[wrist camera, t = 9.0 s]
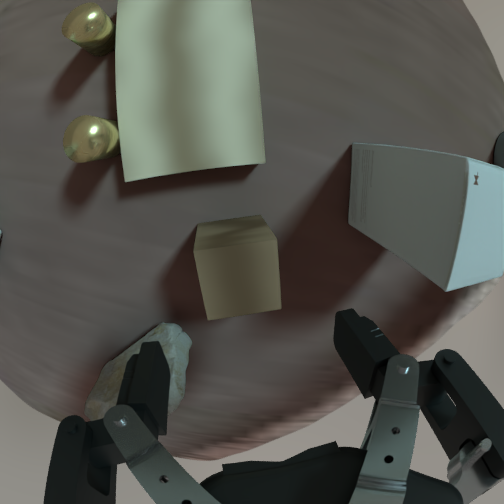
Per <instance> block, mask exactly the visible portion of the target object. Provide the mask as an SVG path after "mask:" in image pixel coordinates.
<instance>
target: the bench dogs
mask: <svg viewBox="0 0 504 504" xmlns="http://www.w3.org/2000/svg"><path fill="white" fill-rule="evenodd" d="M62 33H63V35H64V36H65V37H66V38H68V39H69V40H71V41H73V42H74V43H76V44H77V45H79V46H80V47H82V48H83V49H85V50H86V51H88V52H89V53H90V54H92V55H94V56H103V55H106V54H108V53H110V52H111V51H113V50H114V49H115V46H116V25H115V24H114V23H113V22H112V21H111V19H110V18H109V17H108V16H107V15H106V14H105V12H104V11H103V10H102V9H101V8H100V7H99V6H98V5H97V4H95V3H85V4H82V5H80V6H78V7H77V8H75V9H74V10H73V11H72V12H70V14H69V15H68V16H67V17H66V19H65V20H64V22H63V25H62ZM63 146H64V150H65V153H66V155H67V156H68V157H69V158H70V159H71V160H72V161H74V162H77V163H83V162H89V161H94V160H100V159H106V158H112V157H115V156H117V155H118V154H119V153H121V147H120V138H119V127H118V122H117V121H113V120H109V119H104V118H99V117H94V116H89V115H84V116H80V117H78V118H76V119H74V120H73V121H72V122H71V123H70V124H69V126H68V127H67V129H66V131H65V134H64V138H63Z"/></svg>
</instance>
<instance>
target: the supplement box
mask: <svg viewBox="0 0 504 504" xmlns="http://www.w3.org/2000/svg"><path fill="white" fill-rule="evenodd" d="M348 224H349V225H351V226H352V227H354V228H355V229H357V230H359V231H360V232H362V233H363V234H365V235H366V236H368V237H369V238H371V239H372V240H374V241H375V242H377V243H378V244H380V245H381V246H383V247H384V248H386V249H387V250H389V251H390V252H392V253H393V254H395V255H396V256H398V257H399V258H400V259H402V260H403V261H405V262H406V263H408V264H409V265H410V266H412V267H413V268H415V269H416V270H418V271H419V272H420V273H422V274H423V275H424V276H426V277H427V278H428V279H430V280H431V281H432V282H434V283H435V284H436V285H438V286H439V287H440V288H442V289H443V290H444V291H445V292H448V291H451V290H455V289H459V288H462V287H466V286H469V285H473V284H477V283H480V282H484V281H487V280H490V279H494V278H497V277H501V276H502V274H503V271H504V168H501V167H498V166H496V165H492V164H489V163H485V162H482V161H479V160H475V159H472V158H469V157H465V156H460V155H454V154H449V153H443V152H437V151H430V150H423V149H416V148H408V147H399V146H390V145H380V144H366V143H353V144H352V166H351V185H350V200H349V214H348Z"/></svg>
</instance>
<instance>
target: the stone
mask: <svg viewBox="0 0 504 504" xmlns="http://www.w3.org/2000/svg"><path fill="white" fill-rule="evenodd" d="M150 341H159V342H160V344H161V347H162V349H163V352H164V354H165V357H166V360H167V362H168V365H169V368H170V375H171V378H170V389H169V402H168V416H169V415H170V414H171V413H172V412H173V411H174V410H175V409H177V408H178V406H179V403H180V401H181V400H182V399H183V398H184V395H185V385H186V375H185V371H186V368H187V365H188V362H189V349H190V348H191V346H192V341H191V339H190V338H189V336H188V335H187V334H186V332H183V331H182V328H181V327H180V326H179V325H177V324H174V323H164V322H162V323H160V324H159V325H158V326H157V327H156V328H154V329H153V330H151V331H150V332H149V333H147V334H146V336H144V337H143V338H141V339H140V340H139V341H137V342H136V343H135V344H133V345H132V346H131V347H129V348H128V349H126V350H125V351H124V352H123V353H122V354H120V355H119V356H117V357H116V358H115V359H113V360H111V361H109V362H108V363H107V364H106V365H105V366H104V367H103V369H102V371H101V373H100V375H99V378H98V380H97V382H96V384H95V386H94V387H93V389H92V391H91V392H90V394H89V396H88V398H87V401H86V403H85V410H84V412H85V415H86V416H87V417H88V418H89V419H90V420H91V421H94V420H98V419H102V418H104V415H105V413H106V412H107V411H108V410H109V409H110V408H111V407H113V406H116V403H117V399H118V395H119V390H120V387H121V383H122V380H123V375H124V372H125V368H126V364H127V361H128V360H129V359H130V358H131V356H132V355H133V354H139V352H140V348H141V344H142V342H150Z"/></svg>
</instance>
